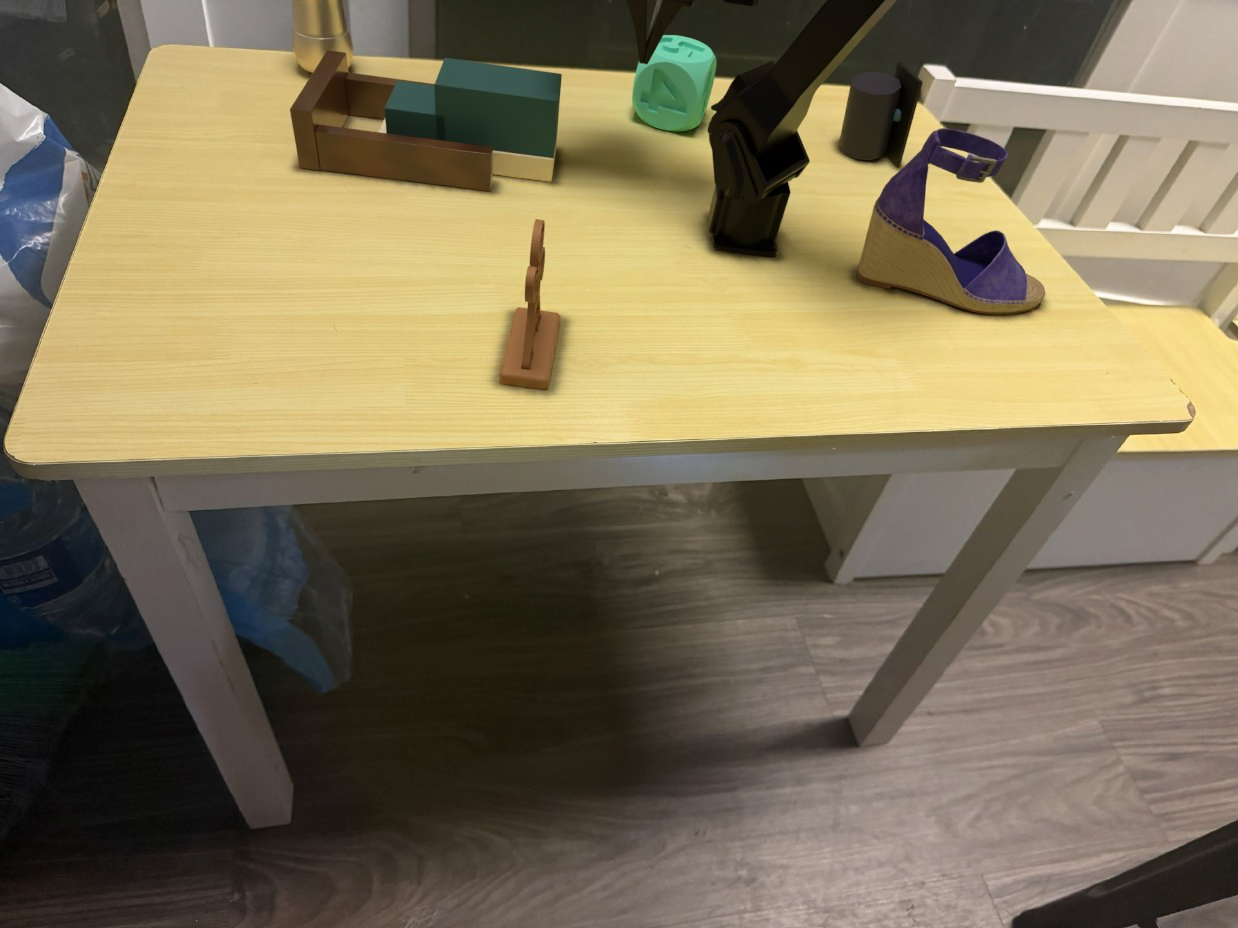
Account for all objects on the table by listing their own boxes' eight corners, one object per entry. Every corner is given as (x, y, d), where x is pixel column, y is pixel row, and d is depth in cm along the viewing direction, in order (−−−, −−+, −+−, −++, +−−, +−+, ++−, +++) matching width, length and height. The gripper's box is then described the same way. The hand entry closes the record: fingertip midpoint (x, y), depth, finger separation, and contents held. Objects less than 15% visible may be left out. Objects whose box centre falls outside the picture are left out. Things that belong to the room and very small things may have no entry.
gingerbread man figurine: (515, 314, 71) (520, 188, 62) (560, 321, 71) (571, 195, 62) (498, 383, 65) (502, 254, 56) (547, 390, 65) (558, 262, 56)
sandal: (1048, 330, 80) (1140, 190, 69) (848, 289, 80) (908, 143, 69) (1033, 283, 85) (1116, 146, 74) (846, 245, 85) (900, 103, 74)
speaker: (895, 144, 103) (920, 59, 95) (900, 168, 99) (926, 83, 91) (834, 139, 103) (854, 55, 95) (836, 163, 99) (857, 77, 91)
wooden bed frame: (505, 128, 93) (506, 74, 88) (490, 192, 83) (491, 135, 79) (334, 105, 91) (327, 50, 87) (299, 168, 82) (289, 109, 77)
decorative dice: (691, 138, 97) (705, 70, 91) (628, 121, 98) (637, 52, 92) (707, 112, 102) (721, 45, 96) (646, 95, 103) (657, 28, 97)
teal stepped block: (556, 150, 91) (562, 72, 85) (551, 182, 86) (557, 102, 80) (391, 128, 89) (385, 47, 83) (378, 160, 85) (370, 77, 78)
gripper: (768, -134, 75) (729, 43, 87) (566, -167, 74) (554, 18, 85) (783, -100, 68) (738, 89, 79) (558, -136, 66) (546, 62, 78)
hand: (643, 62), depth 80 cm, fingers closed
